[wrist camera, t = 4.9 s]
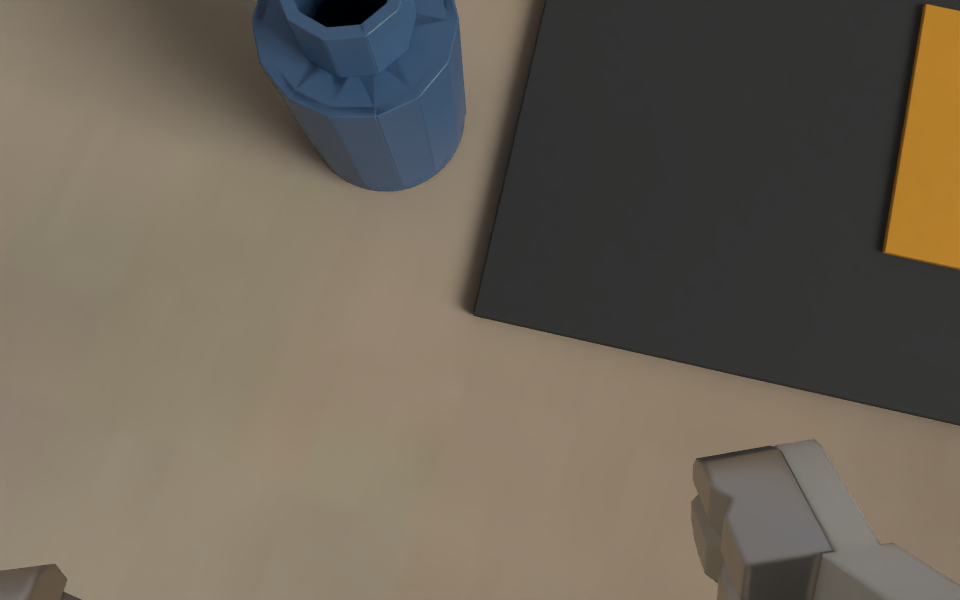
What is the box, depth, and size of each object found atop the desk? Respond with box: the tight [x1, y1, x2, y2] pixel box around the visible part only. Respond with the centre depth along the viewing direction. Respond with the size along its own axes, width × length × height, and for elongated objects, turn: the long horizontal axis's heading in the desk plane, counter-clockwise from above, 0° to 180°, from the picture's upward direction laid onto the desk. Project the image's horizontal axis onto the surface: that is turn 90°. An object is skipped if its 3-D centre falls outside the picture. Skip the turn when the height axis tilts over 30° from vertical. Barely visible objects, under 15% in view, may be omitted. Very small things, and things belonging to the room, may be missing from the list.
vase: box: [252, 0, 466, 191], centre depth 22 cm, size 5×5×8 cm
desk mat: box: [473, 0, 960, 425], centre depth 26 cm, size 20×13×1 cm, turn 77°
